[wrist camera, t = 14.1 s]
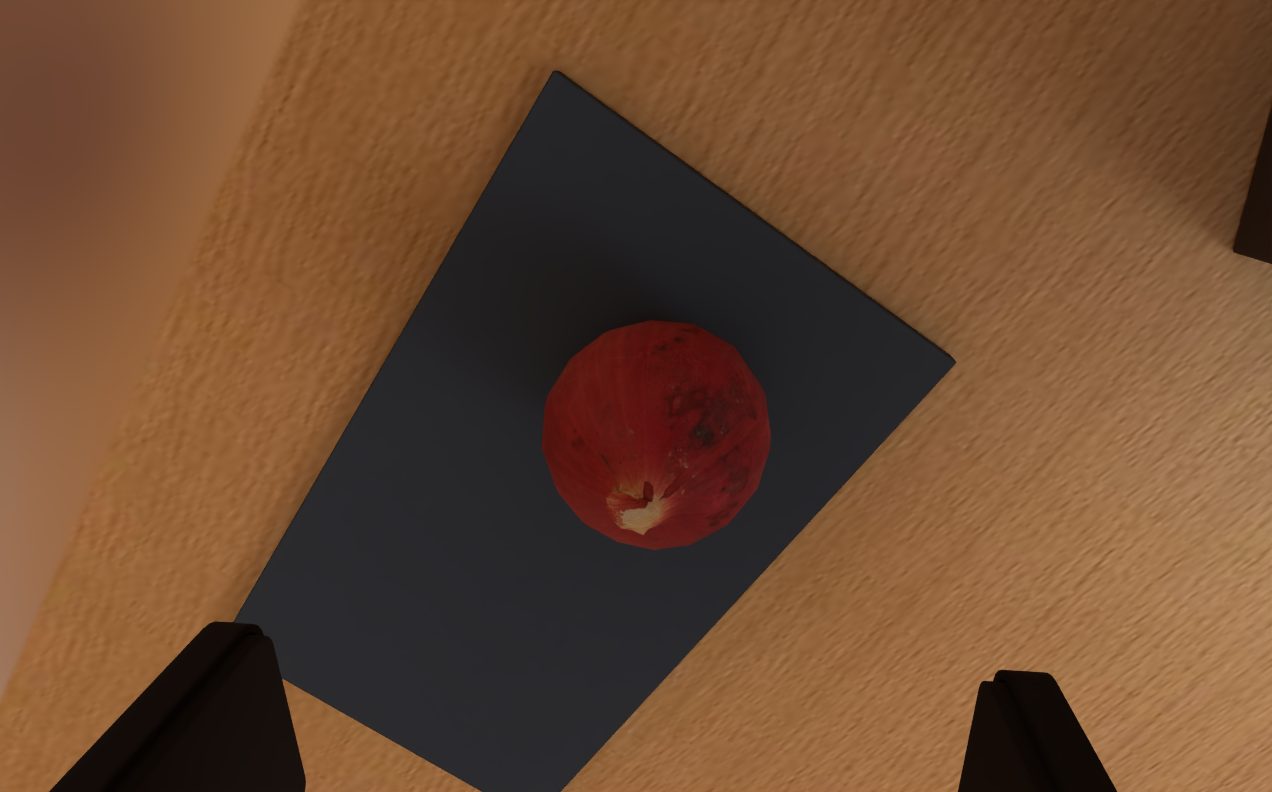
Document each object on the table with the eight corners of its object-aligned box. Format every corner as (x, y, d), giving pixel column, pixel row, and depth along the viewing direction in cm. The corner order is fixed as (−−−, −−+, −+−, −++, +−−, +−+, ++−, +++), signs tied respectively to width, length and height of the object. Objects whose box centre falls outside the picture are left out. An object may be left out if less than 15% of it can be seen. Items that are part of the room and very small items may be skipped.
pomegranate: (688, 249, 22) (675, 330, 14) (798, 405, 23) (839, 550, 16) (532, 361, 23) (450, 483, 16) (644, 499, 25) (615, 671, 17)
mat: (558, 69, 21) (553, 69, 20) (951, 356, 23) (957, 362, 22) (229, 633, 29) (220, 644, 29) (536, 809, 31) (533, 821, 31)
